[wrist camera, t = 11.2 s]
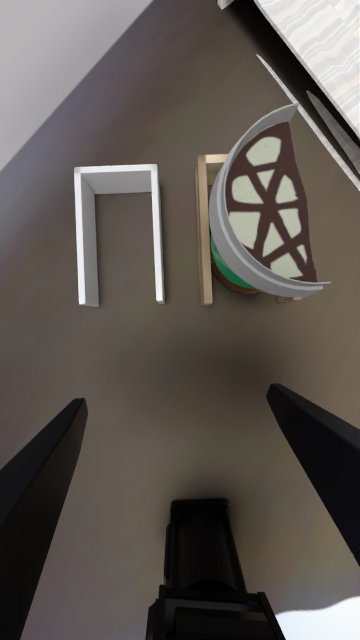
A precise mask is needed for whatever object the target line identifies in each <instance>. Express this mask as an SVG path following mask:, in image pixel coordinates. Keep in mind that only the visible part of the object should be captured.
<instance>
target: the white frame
mask: <svg viewBox="0 0 360 640" xmlns="http://www.w3.org/2000/svg"><path fill="white" fill-rule="evenodd" d="M74 178H75V205H76V232H77V259H78V285H79V304H81V305H87V306H92V307H99V299H98V274H97V248H96V222H95V196H94V194H115V193H139V192H152V207H153V230H154V253H155V277H156V300H157V302H158V303H159V304H165V292H164V269H163V246H162V223H161V200H160V184H159V177H158V170H157V164H145V165H120V166H96V167H74Z"/></svg>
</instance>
